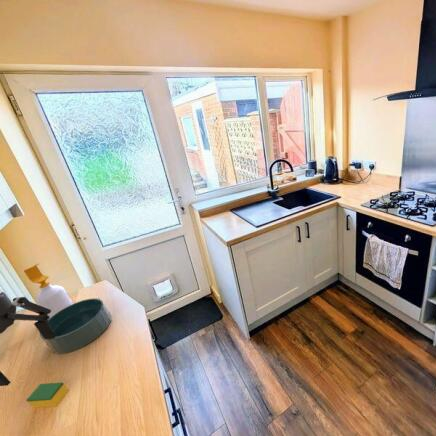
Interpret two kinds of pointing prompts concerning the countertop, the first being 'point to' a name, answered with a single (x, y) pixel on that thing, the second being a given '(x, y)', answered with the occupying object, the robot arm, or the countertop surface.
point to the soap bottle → (48, 292)
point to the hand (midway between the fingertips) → (29, 359)
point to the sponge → (47, 395)
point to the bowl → (77, 325)
